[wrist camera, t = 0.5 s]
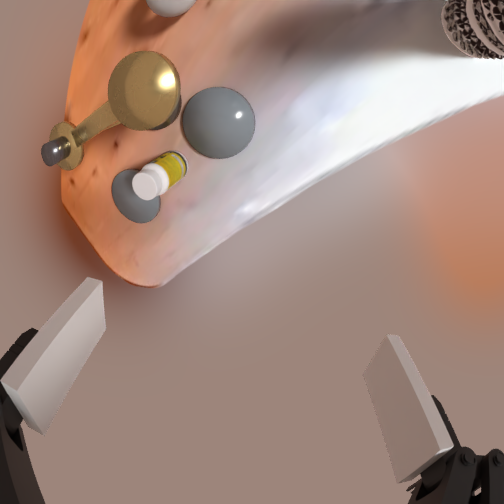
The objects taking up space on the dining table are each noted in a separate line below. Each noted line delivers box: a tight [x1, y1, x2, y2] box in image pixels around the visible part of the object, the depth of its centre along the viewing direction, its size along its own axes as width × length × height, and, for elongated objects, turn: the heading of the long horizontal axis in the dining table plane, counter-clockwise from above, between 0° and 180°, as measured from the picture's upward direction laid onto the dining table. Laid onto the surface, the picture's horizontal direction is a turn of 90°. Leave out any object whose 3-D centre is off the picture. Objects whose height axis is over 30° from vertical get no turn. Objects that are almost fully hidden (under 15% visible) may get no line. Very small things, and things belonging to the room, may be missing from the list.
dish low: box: [112, 169, 160, 223], centre depth 46 cm, size 10×10×1 cm
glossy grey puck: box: [183, 87, 255, 159], centre depth 35 cm, size 10×10×1 cm
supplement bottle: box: [132, 151, 188, 200], centre depth 38 cm, size 5×5×8 cm
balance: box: [41, 51, 181, 170], centre depth 29 cm, size 8×26×16 cm, turn 107°
